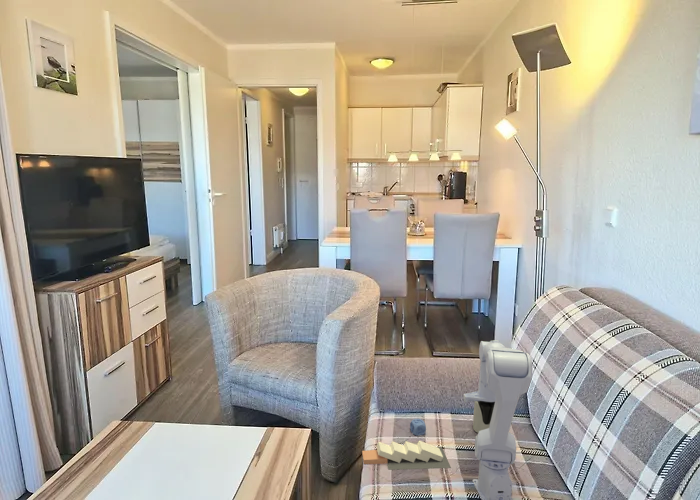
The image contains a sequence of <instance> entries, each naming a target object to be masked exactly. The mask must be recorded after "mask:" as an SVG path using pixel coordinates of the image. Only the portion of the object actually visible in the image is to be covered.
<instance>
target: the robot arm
mask: <svg viewBox="0 0 700 500" xmlns="http://www.w3.org/2000/svg"><path fill="white" fill-rule="evenodd" d="M478 347H479V349H478V357H479V360H480V364H479V378H478V379H479V380H478V390H477V391H472V392H468V393H467V392H466V393H463V396H462V397H463V402H465V403H466V404H468V403H469V402H471V403H472V402H475V401H477V402H478V404H479V407H480V409H481V413H482V419H483V422H484V424H485V425H489V424H490V426H489V428H487V429H484V430H481V431H479V433H477V435H476V436H475V438H474V454H475V455H474V456H475V458H476V460H478V461H479V465H478V479H477V478H475V479H474V478H473V479H472V483H473V485H474V488H475V489H476V491H477V493H478V495H479V498H480V499H481V500H513V498H512V491H513V481H512V479H511V477H510V475H509V470H508V469H509V468H510V467H511V465H513V464H514V463H515V462H516V456H517V443H516V437H515V435H514V434H513V433H511V431H510V430H511V426H512V423H513V420H514V419H513V418H514V415H515V412H516V408H517V405H518V403H519V399H520V396H522V395H524V394H525V393H528V390H529V387H530V385H531V382H532V378H533V359H532V357H531V355H530V354H529V353H528V352H524V351H523V350H519V349H516V348H511V347H506V346H505V345H504V344H502V343H501V342H500V340H497V339H495V340H494V339H493V340H490V341H483V340H481V341H480V343H479V345H478ZM490 421H491V422H490Z"/></svg>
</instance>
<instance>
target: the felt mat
mask: <svg viewBox="0 0 700 500" xmlns="http://www.w3.org/2000/svg"><path fill="white" fill-rule="evenodd" d="M436 447H437V448H439V449H440V451H441V453H442V455H443V459H442V461H441V462H440V461H437V460H435V459H432V458H430V459H429V461H428V462H426V461H423V460H420V459H417V458H416V459H415V461H414V463H413V462H411V461H408V460H405V459H401V461H400V463H398V462H395V461H393V460H390V459H387V463H386V466H387V469H388V470H389V471H393V470H396V471H397V470H427V469H431V470H432V469H451V468H452V467H451V465H450V462H449V460H448V457H447V455H446V453H445V451H444V449H443V446H436Z"/></svg>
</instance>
